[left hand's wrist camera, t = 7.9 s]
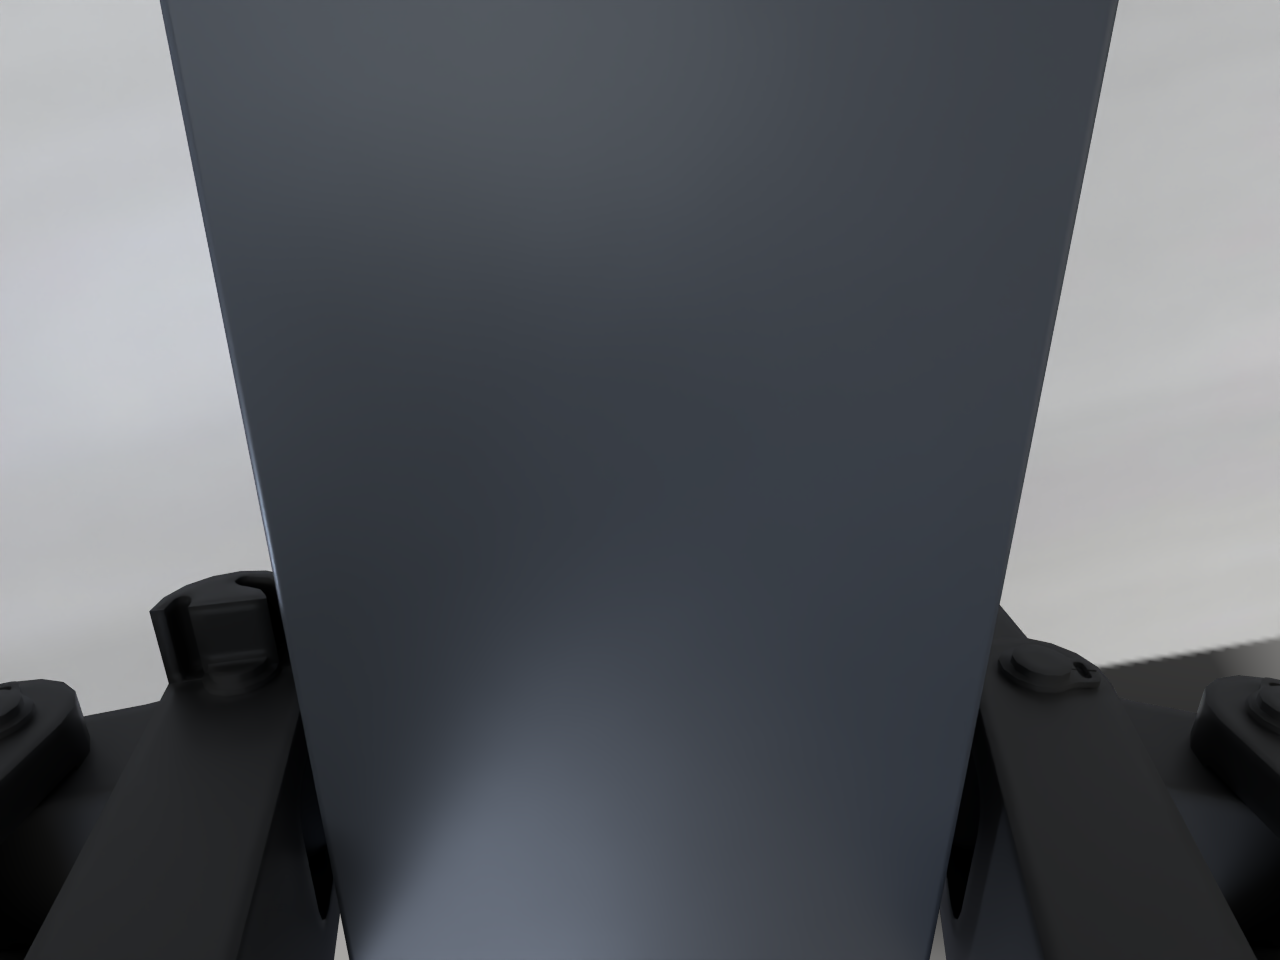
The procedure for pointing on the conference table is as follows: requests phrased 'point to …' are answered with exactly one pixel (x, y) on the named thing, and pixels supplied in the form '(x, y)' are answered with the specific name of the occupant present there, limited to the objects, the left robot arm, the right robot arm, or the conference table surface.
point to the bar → (639, 440)
